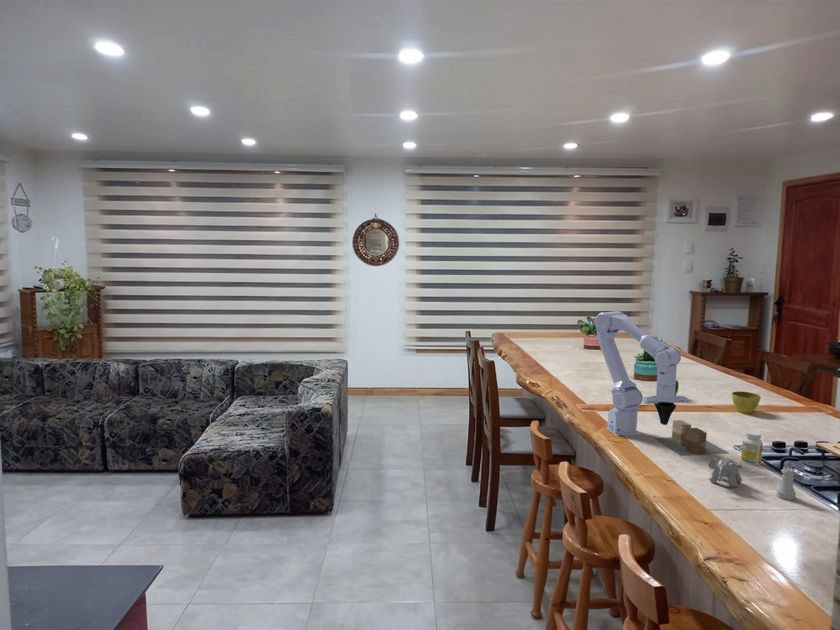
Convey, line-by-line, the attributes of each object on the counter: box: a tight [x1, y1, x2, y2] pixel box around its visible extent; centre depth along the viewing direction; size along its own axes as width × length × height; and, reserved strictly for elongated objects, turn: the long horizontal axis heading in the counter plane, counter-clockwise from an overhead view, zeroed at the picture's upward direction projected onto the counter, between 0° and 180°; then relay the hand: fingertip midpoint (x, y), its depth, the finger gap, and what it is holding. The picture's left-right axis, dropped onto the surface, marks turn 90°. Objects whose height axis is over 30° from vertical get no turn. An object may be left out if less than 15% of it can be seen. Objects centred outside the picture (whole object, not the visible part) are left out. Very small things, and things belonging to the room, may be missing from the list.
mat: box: [653, 436, 729, 457], centre depth 187 cm, size 17×16×1 cm
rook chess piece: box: [776, 466, 797, 501], centre depth 149 cm, size 4×4×8 cm
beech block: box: [671, 419, 692, 445], centre depth 189 cm, size 4×5×7 cm
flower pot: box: [731, 390, 762, 415], centre depth 225 cm, size 10×10×7 cm
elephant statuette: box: [708, 457, 743, 489], centre depth 157 cm, size 9×12×8 cm
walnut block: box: [686, 427, 708, 454], centre depth 181 cm, size 4×5×7 cm
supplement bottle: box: [740, 430, 764, 466], centre depth 173 cm, size 5×5×10 cm
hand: (663, 423), depth 187 cm, fingers closed
